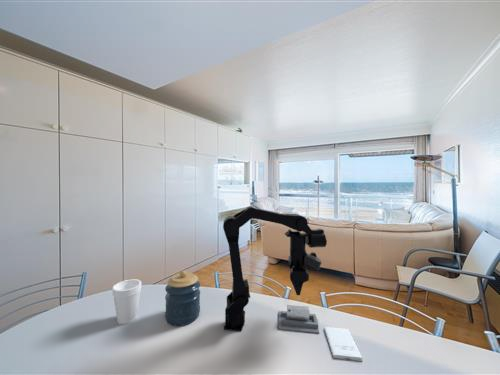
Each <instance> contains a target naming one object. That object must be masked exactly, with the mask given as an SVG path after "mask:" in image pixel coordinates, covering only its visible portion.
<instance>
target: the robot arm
mask: <svg viewBox="0 0 500 375" xmlns="http://www.w3.org/2000/svg"><path fill="white" fill-rule="evenodd" d="M252 219H256V220H261V221H265V222H269V223H274V224H277V225H283V226H285V227H287V228H289V229H288V230H287V231H286V232H285V233H284V235H285V236H286V237H287V238H289V256H288V266H289V280H290V282H291V284H292V286H293V289H294V292H295V294H296V295H297V296H300V295H301V293H302V289H303V286H304V283H307V282H309V280H310V275H309V271H308V269H307V268H308V267H310V268H312V269H315V270H316V271H319V270H320V267H321V265H322V263H323V262H322V261H321V258H319V257H317V253H316V252H314V251H311V252H310V253H308V252H306V251H307V250H306V246H308V247H309V248H315V249H316V248H326V246H327V242H328V240H327V238H326V234H325V230H324V229H322V228H317V229H311V227H310V226H309V225H308V224H309V222H308V220H307V218H306V217H305V216H303V215H300V214H299V213H280V212H275V211H271V210H266V209H261V208H257V207H253V206H252V205H251V206H247V207H245V209H243V210H241V211H239V212H237V213H235V214H234V215H228V216H227V217H225V218H224V220H223V222H222V225H223V226H222V229H223V231H224V235H225V238H226V241H227V244H228V250H229V259H230V265H231V272H232V289H231V292H230V293H229V294H228V295H227V296H226V307H225V310H224V312H225V313H224V315H225V316H224V320H225V322H224V326H223V330H226V331H229V330H230V331H236V332H242V330H243V328H244V326H245V324H246V310H245V307H246V306H248V304H249V301H250V299H251V295H250V285H249V281H248V279H244V277H243V276H244V275H243V270H242V261H241V253H240V247H239V246H240V245H239V238H240V228H241V227H243V226H244V225H246V224H247V223H248V222H249V221H250V220H252ZM291 229H292V230H294V231H292V230H291Z"/></svg>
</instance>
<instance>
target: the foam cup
mask: <svg viewBox="0 0 500 375" xmlns="http://www.w3.org/2000/svg"><path fill="white" fill-rule="evenodd" d="M141 290H142V281H141V280H140V279H136V278H135V279H134V278H133V279H131V278H130V279H126V280H122V281H119V282H118V283H115V284H113V287H112V291H111V292H112V296H113V300H114V301H113V302H114V307H115V309H114V310H115V313H116V315H115V316H116V320H117V324H118V325H126V324H130V323H133V322H134V321H135V320H136V319H137V317H138V310H139V305H140V296H141Z"/></svg>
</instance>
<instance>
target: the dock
mask: <svg viewBox="0 0 500 375" xmlns="http://www.w3.org/2000/svg"><path fill="white" fill-rule="evenodd" d="M319 329H320V328H319V320H318V318H317V315H316V314H315V313H309V322H306V321H296V320H287V310H286V311H284V310H281V311H280V310H279V311H278V330H280V331H281V330H282V331H289V332H290V331H292V332H300V333H310V334H311V333H312V334H320V330H319Z"/></svg>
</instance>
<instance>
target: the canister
mask: <svg viewBox="0 0 500 375" xmlns="http://www.w3.org/2000/svg"><path fill="white" fill-rule="evenodd" d="M200 287H201V282H200V281H199V276H197V275H196V274H194V273H192V272H187V271H186V270H181V271H180V272H178V273H176V274H174V275H172V277H170V278H169V279H168V281H167V285H166V286H165V289H164V290H165V292H166V294H165V298H164V299H165V312H164V317H165V320H166V323H167V324H168V325H170V326H174V327H183V326H186V325H189V324H191V323H193V322H194V321H196V320H197V319H198V318H199V316H200V313H201V305H200V302H201V301H200V300H201V299H200V298H201V297H200V296H201V290H200Z"/></svg>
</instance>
